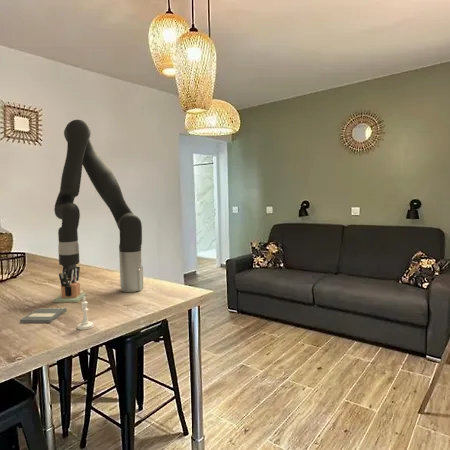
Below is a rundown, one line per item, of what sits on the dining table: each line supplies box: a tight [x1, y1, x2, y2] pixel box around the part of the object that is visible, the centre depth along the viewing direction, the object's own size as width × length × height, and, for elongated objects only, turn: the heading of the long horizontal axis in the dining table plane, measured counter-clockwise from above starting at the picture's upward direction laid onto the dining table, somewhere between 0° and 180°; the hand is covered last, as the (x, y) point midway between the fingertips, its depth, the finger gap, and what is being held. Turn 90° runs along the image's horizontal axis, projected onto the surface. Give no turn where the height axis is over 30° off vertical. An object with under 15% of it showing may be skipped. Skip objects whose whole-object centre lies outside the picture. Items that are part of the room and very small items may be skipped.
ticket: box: [19, 307, 68, 324], centre depth 121 cm, size 10×12×1 cm
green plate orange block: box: [51, 282, 88, 303], centre depth 140 cm, size 10×9×6 cm
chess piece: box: [76, 296, 95, 331], centre depth 112 cm, size 5×5×10 cm
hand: (70, 294), depth 141 cm, fingers closed on green plate orange block, 3 cm apart
